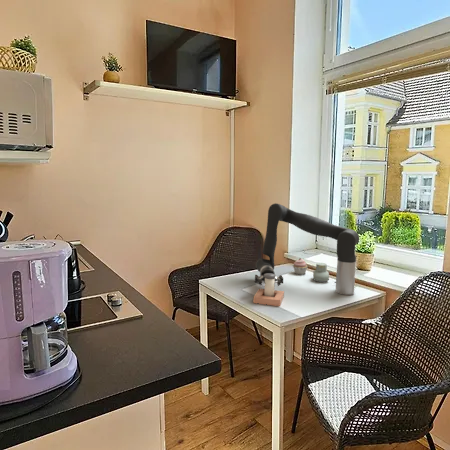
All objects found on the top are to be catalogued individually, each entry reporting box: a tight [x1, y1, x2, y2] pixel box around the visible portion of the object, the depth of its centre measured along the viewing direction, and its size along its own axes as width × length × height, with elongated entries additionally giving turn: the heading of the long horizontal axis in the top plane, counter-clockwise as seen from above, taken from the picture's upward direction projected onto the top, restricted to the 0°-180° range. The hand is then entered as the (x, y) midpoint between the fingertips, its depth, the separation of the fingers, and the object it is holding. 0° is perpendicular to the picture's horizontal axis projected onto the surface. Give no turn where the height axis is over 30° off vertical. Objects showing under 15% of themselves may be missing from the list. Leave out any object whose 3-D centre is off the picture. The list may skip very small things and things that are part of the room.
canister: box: [264, 273, 276, 297], centre depth 182 cm, size 5×5×13 cm
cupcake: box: [292, 257, 309, 276], centre depth 226 cm, size 9×9×10 cm
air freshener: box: [312, 262, 330, 283], centre depth 213 cm, size 11×8×10 cm
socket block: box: [253, 288, 285, 307], centre depth 182 cm, size 13×13×3 cm
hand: (269, 283), depth 179 cm, fingers open, 8 cm apart
